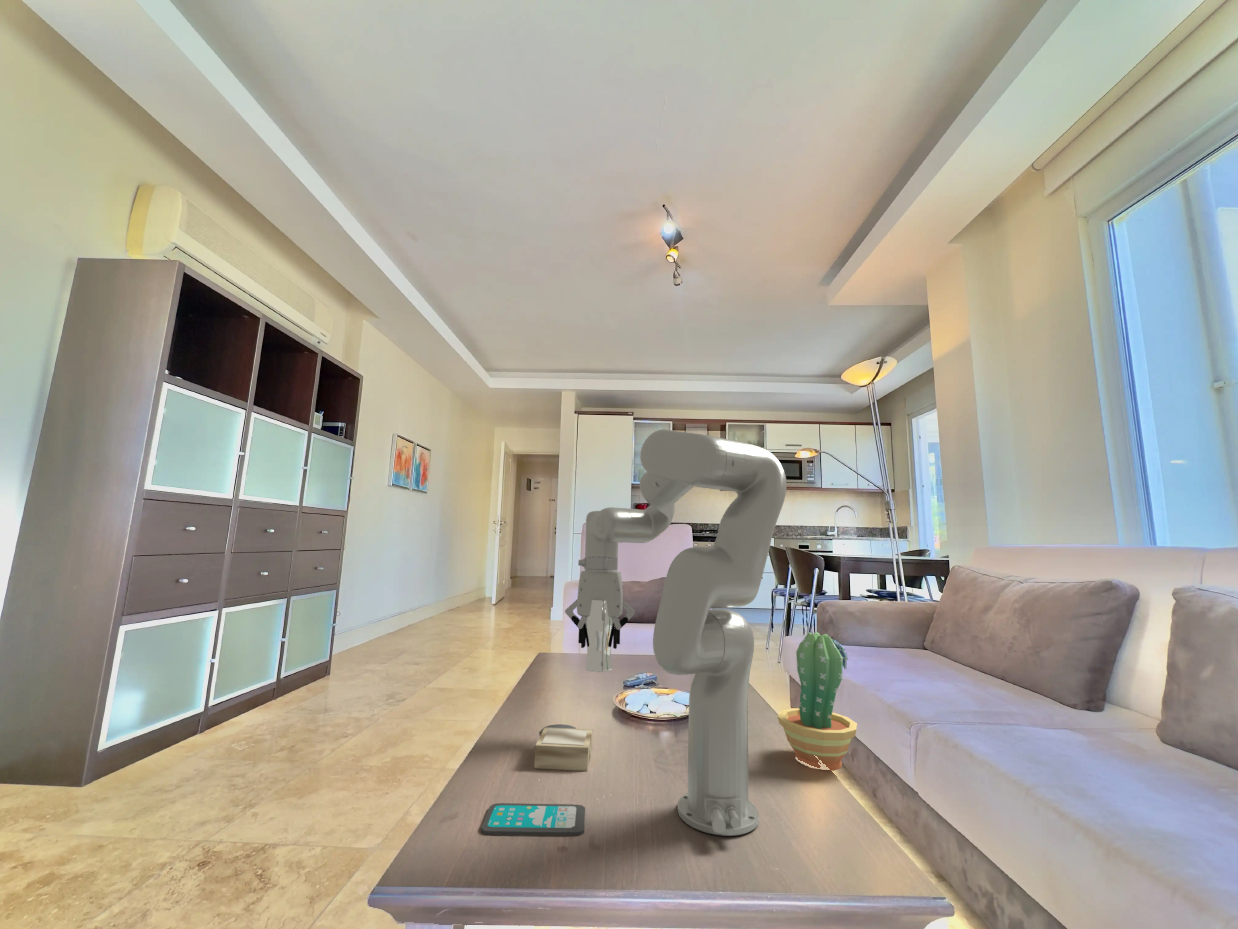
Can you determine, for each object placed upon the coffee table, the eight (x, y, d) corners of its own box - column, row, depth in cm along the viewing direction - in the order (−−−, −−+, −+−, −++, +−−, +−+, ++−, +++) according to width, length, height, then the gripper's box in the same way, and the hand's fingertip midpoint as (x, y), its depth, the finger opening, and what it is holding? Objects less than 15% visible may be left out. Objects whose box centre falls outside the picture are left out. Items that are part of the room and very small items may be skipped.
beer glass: (616, 666, 117) (616, 598, 120) (612, 673, 110) (613, 600, 113) (585, 665, 118) (587, 597, 120) (580, 671, 111) (582, 599, 114)
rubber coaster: (575, 740, 111) (575, 737, 111) (538, 738, 112) (538, 736, 112) (579, 727, 119) (579, 725, 119) (544, 725, 120) (544, 723, 120)
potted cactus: (869, 782, 96) (863, 642, 100) (782, 772, 99) (780, 636, 103) (849, 751, 111) (845, 630, 114) (774, 743, 114) (773, 625, 118)
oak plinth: (587, 770, 96) (588, 747, 97) (534, 768, 97) (535, 744, 97) (591, 750, 106) (592, 728, 107) (543, 747, 107) (544, 726, 107)
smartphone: (584, 832, 75) (479, 830, 74) (583, 839, 74) (479, 838, 74) (585, 802, 83) (491, 801, 83) (585, 809, 83) (491, 808, 82)
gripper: (561, 564, 115) (557, 649, 111) (639, 566, 114) (638, 651, 111) (565, 564, 122) (562, 643, 119) (638, 565, 121) (638, 645, 118)
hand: (599, 646), depth 115 cm, fingers closed on beer glass, 6 cm apart
